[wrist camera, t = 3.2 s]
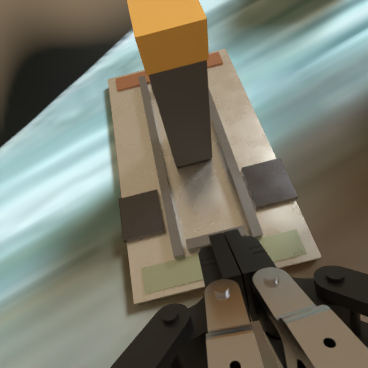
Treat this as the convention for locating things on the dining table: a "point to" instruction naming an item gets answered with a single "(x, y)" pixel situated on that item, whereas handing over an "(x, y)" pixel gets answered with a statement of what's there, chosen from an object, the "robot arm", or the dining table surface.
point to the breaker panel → (199, 186)
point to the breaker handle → (177, 71)
